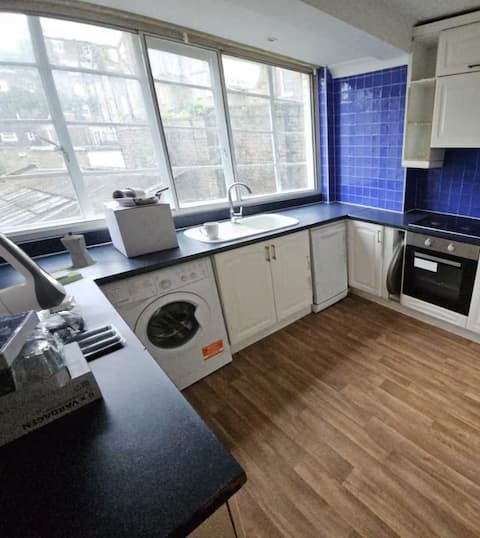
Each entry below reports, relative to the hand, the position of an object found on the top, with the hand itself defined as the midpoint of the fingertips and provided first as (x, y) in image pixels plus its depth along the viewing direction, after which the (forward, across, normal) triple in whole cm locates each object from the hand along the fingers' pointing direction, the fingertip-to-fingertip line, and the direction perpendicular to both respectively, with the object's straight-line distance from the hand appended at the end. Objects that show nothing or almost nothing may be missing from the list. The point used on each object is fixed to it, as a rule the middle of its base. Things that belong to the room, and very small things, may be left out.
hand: (38, 302), depth 104 cm
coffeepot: (+62, -8, +7) cm, 63 cm away
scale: (+42, 0, +6) cm, 42 cm away
